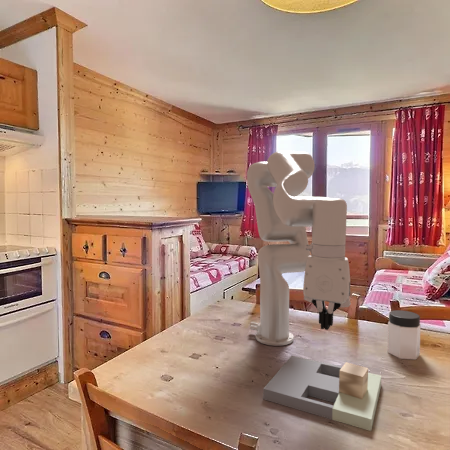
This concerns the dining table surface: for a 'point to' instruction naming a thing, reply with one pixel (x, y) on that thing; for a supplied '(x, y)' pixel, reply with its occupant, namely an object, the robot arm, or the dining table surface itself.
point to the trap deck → (322, 392)
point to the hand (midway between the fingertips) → (325, 327)
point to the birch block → (353, 380)
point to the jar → (404, 334)
